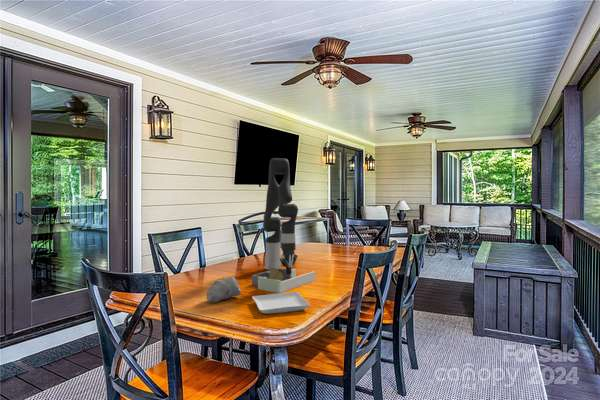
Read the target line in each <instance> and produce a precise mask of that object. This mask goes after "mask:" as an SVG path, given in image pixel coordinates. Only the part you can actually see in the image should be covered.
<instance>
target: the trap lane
mask: <svg viewBox="0 0 600 400" xmlns="http://www.w3.org/2000/svg"><path fill="white" fill-rule="evenodd" d="M277 270H279V271H280V272H281V273H282V275H283V276H284V277H285V278H286V280H285V281H281V280H275V279H269V274H270V271H271V270H267V271H264V272H259V273H256V274H252V275H251V285H252V286H257V289H258V290H260V291H267V292H271V293H275V294H279V293H285V292H287V291H290V290H292V289H295V288H298V287H302V286H304V285H307V284H309V283H312V282H315V281H316V271H310V272H308V273H304V274H301V275H299V276H298V275H297V269H296V268H291V271H292V272H291V274H286V268H282V267H281V268H278V269H277Z"/></svg>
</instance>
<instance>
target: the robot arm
mask: <svg viewBox="0 0 600 400" xmlns="http://www.w3.org/2000/svg"><path fill="white" fill-rule="evenodd" d="M268 167H269V168H268V182H267V191H266V192H267V193H266V197H265V198H266V199H265V200H266V202H265V212H264V217H263V222H262V227H263V231H264V232H266V233H267V232H274V233H273V234H272V235H269V236H267V237H266V238H265V254H264V269H265V270H267V271H270V270H271V268H276V269H278V268H282V267H281V265H282V266H283V267H284V268H285V269H286V274H291V272H292V271H291V270H292V267H293V266H295V262H296V261H297V259H298V255H297V254H295V251H296V250H297V249H296V247H297V246H296V245H297V244H296V220H297V216H298V213H299V208H298V205H296V203H292V201H293V196H292V190H291V173H290V161H289V160H288V159H287V158H284V157H283V158H281V157H280V158H279V157H272V158H271V159H270V160H269V166H268ZM275 175H283V178H282V180H281V181H280V184H279V183H278V182H277V180H276V177H275ZM277 209H278V210H277ZM276 210H277V213H278V216H272V215H273V213H274V212H275V211H276ZM281 218H289V220H287V221H283V222H281ZM281 251H282V256H281Z"/></svg>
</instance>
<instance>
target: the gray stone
mask: <svg viewBox="0 0 600 400" xmlns="http://www.w3.org/2000/svg"><path fill="white" fill-rule="evenodd" d="M240 288H241V287H240V285H239V283H238V280H237V279H236V278H235V277H234V276H228V277H224V278H222V279H217V280H215V281H214V283H212V284H211V286H209V288H208V289H207V291H206V293H205V296H206V300H207V302H209V303H214V304H215V303H218V302H220V301H222V300H227V299H230V298H233V297H238V296H240V295H241V294H242V292H241V289H240Z"/></svg>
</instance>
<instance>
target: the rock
mask: <svg viewBox="0 0 600 400" xmlns="http://www.w3.org/2000/svg"><path fill="white" fill-rule="evenodd" d="M269 271H270V270H269ZM269 279H275V280H281V281H285V280H286V278H285V277H284V276H283V275H282V273H281V272H280V271H279V270H277V269H276V268H271V271H270V274H269Z"/></svg>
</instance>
